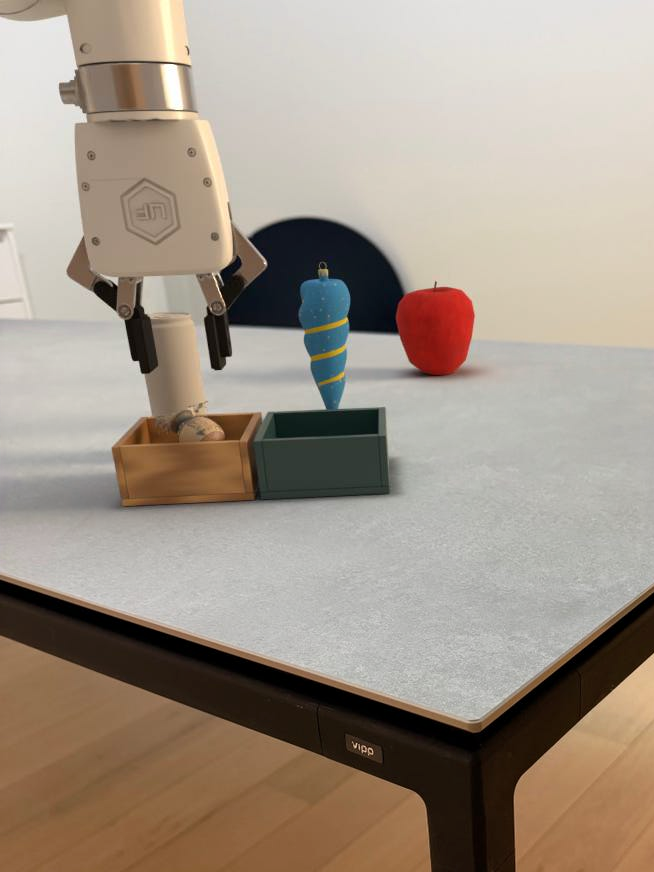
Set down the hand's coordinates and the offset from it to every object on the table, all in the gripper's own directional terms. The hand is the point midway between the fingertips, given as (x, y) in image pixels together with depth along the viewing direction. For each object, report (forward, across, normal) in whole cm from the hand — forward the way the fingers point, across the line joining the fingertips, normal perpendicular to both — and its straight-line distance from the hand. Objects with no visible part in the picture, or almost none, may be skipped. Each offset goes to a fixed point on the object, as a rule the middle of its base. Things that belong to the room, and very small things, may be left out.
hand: (184, 366), depth 74 cm
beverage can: (+10, -3, +10) cm, 15 cm away
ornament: (+10, +10, +22) cm, 26 cm away
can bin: (+10, +10, 0) cm, 14 cm away
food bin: (+9, 0, 0) cm, 9 cm away
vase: (+6, -1, +2) cm, 7 cm away
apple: (+10, +22, +44) cm, 50 cm away
